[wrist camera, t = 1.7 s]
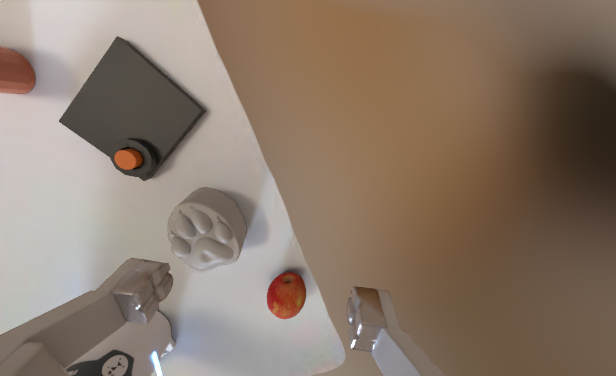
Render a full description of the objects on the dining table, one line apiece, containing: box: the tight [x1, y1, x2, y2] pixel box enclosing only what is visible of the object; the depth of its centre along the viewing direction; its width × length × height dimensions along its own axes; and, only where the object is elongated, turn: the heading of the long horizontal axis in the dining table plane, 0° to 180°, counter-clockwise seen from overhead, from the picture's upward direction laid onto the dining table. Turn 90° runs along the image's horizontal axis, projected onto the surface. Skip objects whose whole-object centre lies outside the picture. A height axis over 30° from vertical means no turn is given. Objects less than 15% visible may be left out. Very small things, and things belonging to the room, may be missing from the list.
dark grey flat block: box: [59, 36, 206, 181], centre depth 34 cm, size 16×14×4 cm
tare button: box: [114, 149, 143, 170], centre depth 34 cm, size 3×3×2 cm
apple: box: [267, 272, 306, 319], centre depth 45 cm, size 8×8×8 cm
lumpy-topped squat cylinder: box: [168, 188, 247, 272], centre depth 38 cm, size 10×13×9 cm
